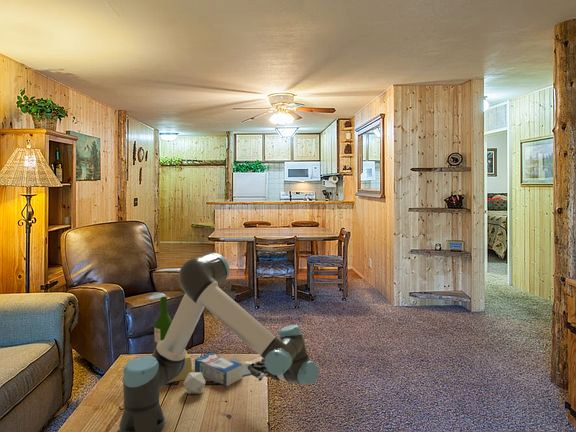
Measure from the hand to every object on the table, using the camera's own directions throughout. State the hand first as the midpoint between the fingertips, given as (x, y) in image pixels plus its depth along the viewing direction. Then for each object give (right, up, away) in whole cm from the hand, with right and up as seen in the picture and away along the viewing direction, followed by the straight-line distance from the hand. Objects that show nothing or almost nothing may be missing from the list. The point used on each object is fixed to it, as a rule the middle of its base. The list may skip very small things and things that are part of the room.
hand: (246, 365), depth 171 cm
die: (-22, -13, +6) cm, 26 cm away
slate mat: (-12, -12, +27) cm, 32 cm away
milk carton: (-6, -9, +15) cm, 18 cm away
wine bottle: (-41, -11, +32) cm, 53 cm away
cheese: (-32, -12, +21) cm, 40 cm away
